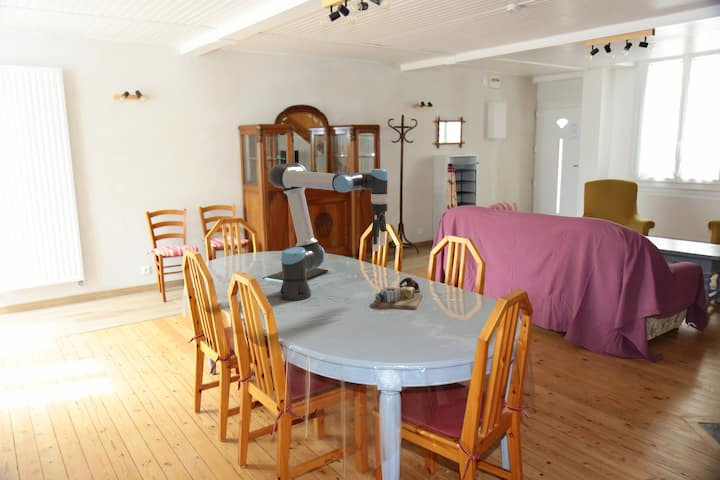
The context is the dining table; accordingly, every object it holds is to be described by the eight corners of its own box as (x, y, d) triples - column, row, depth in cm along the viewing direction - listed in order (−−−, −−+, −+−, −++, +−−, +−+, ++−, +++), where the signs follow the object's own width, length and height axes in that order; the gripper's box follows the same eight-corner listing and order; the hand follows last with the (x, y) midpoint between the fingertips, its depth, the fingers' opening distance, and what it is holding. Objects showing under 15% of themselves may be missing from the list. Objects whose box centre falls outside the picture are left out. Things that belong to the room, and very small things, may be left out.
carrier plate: (372, 306, 252) (372, 294, 251) (381, 294, 271) (381, 282, 270) (416, 309, 247) (416, 296, 246) (422, 296, 266) (422, 284, 265)
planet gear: (379, 302, 253) (378, 291, 252) (383, 297, 262) (382, 286, 261) (398, 303, 251) (398, 292, 250) (402, 297, 260) (401, 287, 259)
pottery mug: (422, 295, 271) (414, 282, 268) (404, 303, 273) (397, 290, 270) (420, 282, 282) (412, 270, 279) (403, 290, 284) (396, 278, 281)
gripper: (380, 206, 244) (380, 254, 248) (392, 200, 268) (392, 243, 272) (364, 206, 246) (364, 253, 250) (377, 199, 270) (377, 242, 274)
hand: (379, 248), depth 261 cm, fingers open, 13 cm apart
